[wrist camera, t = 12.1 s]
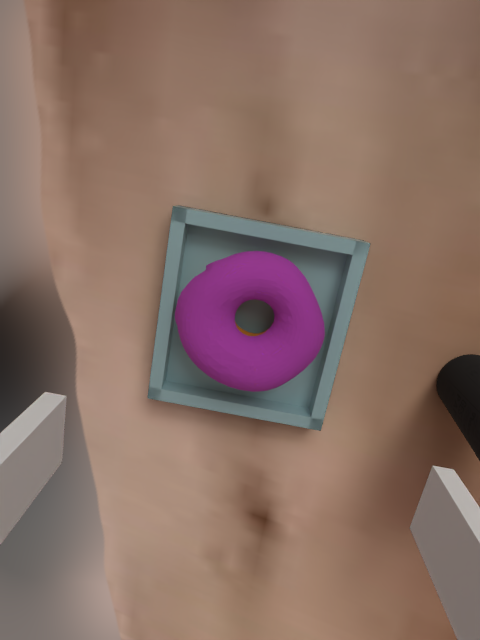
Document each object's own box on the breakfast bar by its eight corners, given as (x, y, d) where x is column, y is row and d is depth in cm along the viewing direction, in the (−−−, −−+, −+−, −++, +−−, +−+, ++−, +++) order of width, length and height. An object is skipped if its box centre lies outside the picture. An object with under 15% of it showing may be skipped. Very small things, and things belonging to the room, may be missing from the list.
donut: (338, 341, 34) (349, 363, 30) (226, 395, 36) (221, 423, 31) (278, 223, 32) (280, 228, 27) (161, 287, 33) (146, 301, 29)
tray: (178, 205, 32) (172, 206, 30) (363, 240, 32) (370, 243, 30) (154, 386, 36) (147, 398, 34) (317, 417, 36) (320, 430, 34)
